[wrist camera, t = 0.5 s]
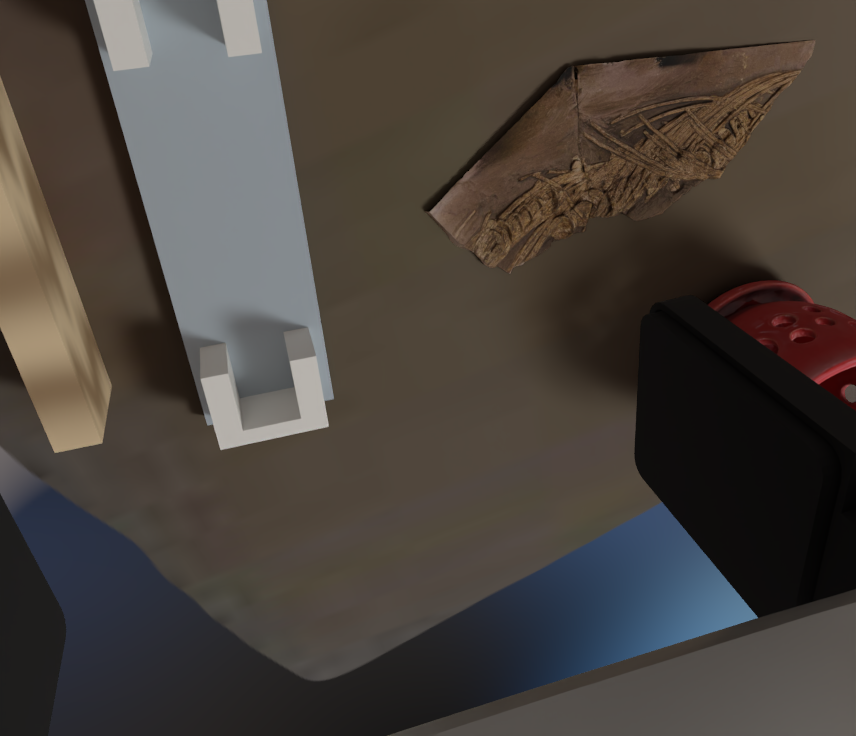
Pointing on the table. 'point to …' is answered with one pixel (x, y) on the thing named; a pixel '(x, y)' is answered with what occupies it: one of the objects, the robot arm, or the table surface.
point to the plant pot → (796, 331)
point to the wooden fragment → (613, 147)
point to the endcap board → (221, 205)
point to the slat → (45, 306)
